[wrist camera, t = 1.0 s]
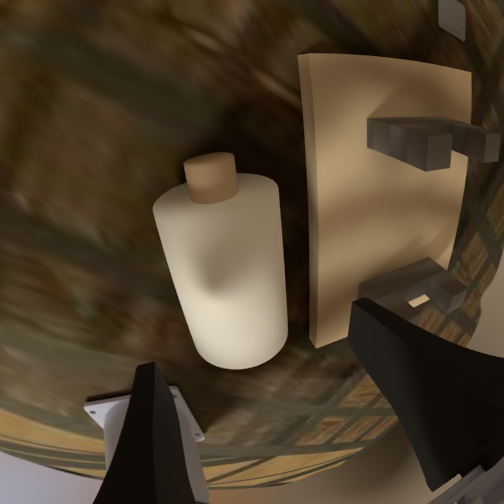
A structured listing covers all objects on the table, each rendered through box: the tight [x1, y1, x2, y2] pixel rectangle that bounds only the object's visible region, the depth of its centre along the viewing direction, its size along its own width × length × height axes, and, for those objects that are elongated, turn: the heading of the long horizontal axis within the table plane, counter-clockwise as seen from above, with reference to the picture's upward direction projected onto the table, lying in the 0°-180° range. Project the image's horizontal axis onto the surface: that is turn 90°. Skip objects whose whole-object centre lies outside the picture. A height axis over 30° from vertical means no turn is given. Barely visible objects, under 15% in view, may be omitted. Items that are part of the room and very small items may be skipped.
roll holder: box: [297, 53, 501, 348], centre depth 17 cm, size 19×13×6 cm
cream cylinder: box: [153, 152, 288, 369], centre depth 15 cm, size 11×5×5 cm, turn 7°
